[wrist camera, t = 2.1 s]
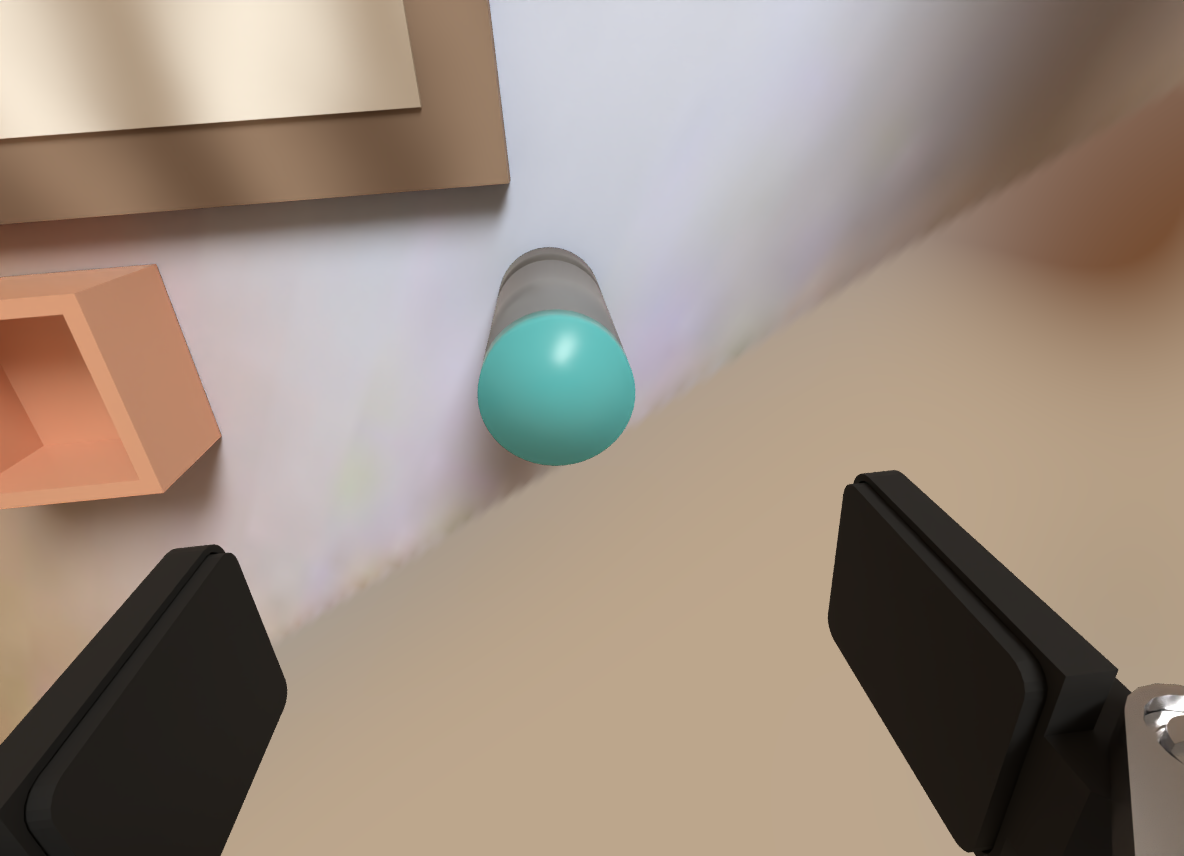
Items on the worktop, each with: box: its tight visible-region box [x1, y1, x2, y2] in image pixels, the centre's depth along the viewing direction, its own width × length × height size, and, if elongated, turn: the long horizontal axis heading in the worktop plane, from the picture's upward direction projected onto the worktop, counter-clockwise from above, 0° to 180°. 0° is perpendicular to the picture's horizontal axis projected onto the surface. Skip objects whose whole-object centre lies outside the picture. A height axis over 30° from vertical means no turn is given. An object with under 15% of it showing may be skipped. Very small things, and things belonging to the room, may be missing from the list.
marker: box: [478, 247, 635, 466], centre depth 20 cm, size 4×4×10 cm
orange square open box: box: [0, 264, 221, 509], centre depth 22 cm, size 7×7×4 cm
